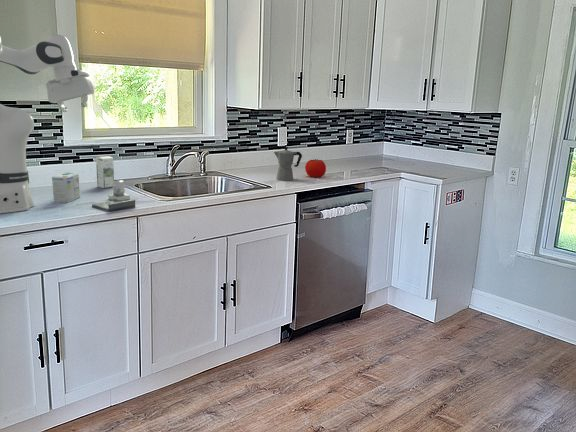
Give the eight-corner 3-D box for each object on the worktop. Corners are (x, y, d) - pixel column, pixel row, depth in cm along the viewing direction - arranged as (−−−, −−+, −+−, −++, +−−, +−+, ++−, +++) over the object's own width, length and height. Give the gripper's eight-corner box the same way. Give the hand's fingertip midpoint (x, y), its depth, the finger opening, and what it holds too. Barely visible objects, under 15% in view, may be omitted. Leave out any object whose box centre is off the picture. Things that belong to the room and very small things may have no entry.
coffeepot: (272, 180, 288) (273, 147, 283) (273, 177, 297) (274, 145, 293) (300, 181, 287) (302, 148, 283) (301, 178, 296) (302, 146, 292)
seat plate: (110, 211, 210) (110, 204, 209) (92, 206, 217) (91, 199, 216) (135, 206, 219) (135, 199, 219) (117, 202, 226) (116, 195, 225)
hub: (117, 201, 227) (116, 182, 225) (108, 199, 231) (107, 180, 229) (130, 199, 232) (129, 180, 230) (120, 197, 236) (120, 178, 234)
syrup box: (107, 185, 258) (106, 155, 255) (114, 187, 255) (113, 157, 251) (97, 186, 254) (95, 156, 250) (104, 188, 250) (102, 158, 247)
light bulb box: (65, 196, 232) (64, 172, 230) (80, 197, 232) (79, 173, 229) (53, 201, 222) (51, 176, 219) (68, 202, 221) (66, 177, 219)
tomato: (324, 175, 309) (325, 157, 307) (326, 179, 298) (327, 160, 296) (304, 174, 309) (304, 157, 306) (305, 178, 298) (306, 160, 295)
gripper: (40, 81, 220) (48, 114, 221) (83, 69, 215) (91, 103, 216) (50, 82, 226) (58, 114, 227) (92, 71, 221) (100, 104, 222)
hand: (74, 109), depth 222 cm, fingers open, 8 cm apart
